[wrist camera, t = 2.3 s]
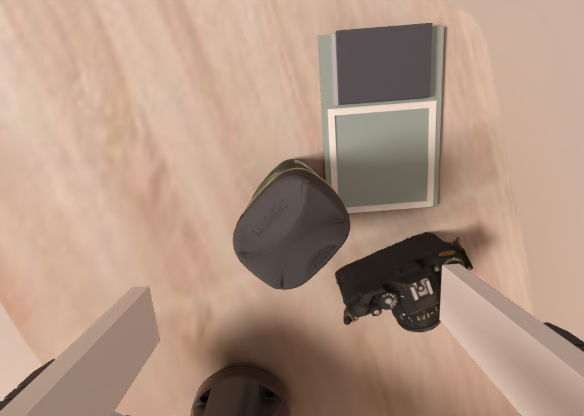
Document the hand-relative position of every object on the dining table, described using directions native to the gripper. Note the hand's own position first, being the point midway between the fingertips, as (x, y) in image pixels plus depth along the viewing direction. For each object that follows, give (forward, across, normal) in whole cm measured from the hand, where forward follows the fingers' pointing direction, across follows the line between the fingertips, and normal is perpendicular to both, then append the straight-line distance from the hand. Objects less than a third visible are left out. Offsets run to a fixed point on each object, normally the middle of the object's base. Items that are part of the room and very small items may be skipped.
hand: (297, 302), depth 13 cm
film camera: (+27, +14, -13) cm, 33 cm away
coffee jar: (+27, 0, 0) cm, 27 cm away
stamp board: (+27, +12, +8) cm, 30 cm away
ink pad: (+27, +12, +15) cm, 33 cm away
